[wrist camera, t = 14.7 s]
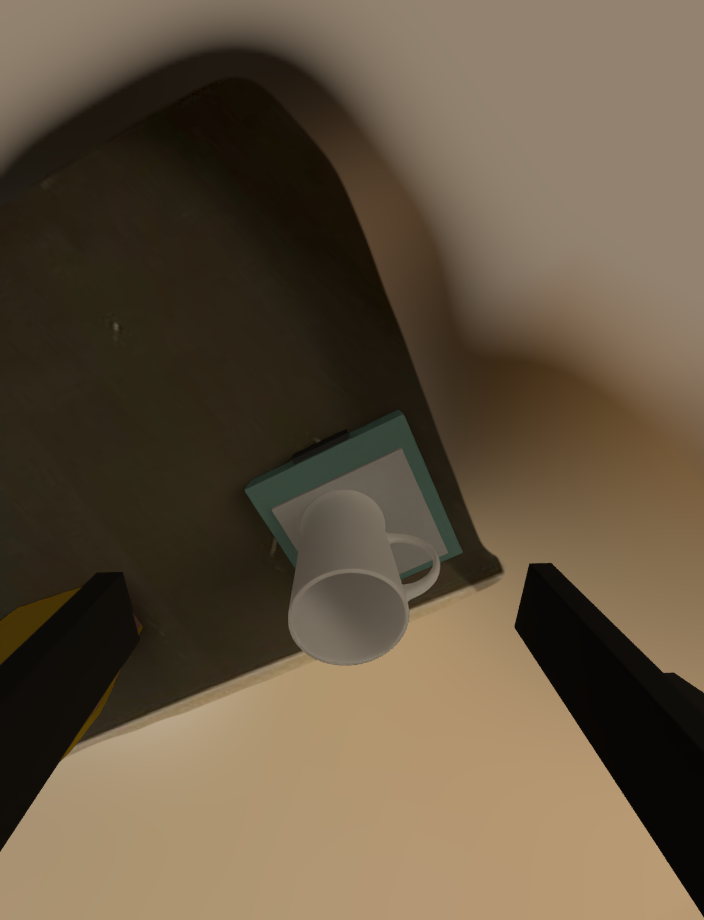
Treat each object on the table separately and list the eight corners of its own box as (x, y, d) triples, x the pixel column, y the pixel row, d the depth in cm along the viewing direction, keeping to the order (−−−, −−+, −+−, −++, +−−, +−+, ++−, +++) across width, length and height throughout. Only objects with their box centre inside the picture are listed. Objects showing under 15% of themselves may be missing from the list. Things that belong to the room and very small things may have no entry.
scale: (395, 403, 32) (402, 409, 29) (454, 539, 38) (465, 556, 35) (247, 475, 34) (238, 487, 31) (324, 596, 39) (323, 617, 36)
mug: (417, 483, 32) (465, 556, 20) (415, 557, 34) (457, 659, 23) (296, 491, 31) (276, 571, 20) (304, 566, 34) (291, 674, 22)
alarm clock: (47, 662, 40) (-175, 903, 22) (4, 612, 37) (-286, 841, 20) (159, 626, 39) (21, 847, 22) (123, 573, 36) (-68, 775, 19)
